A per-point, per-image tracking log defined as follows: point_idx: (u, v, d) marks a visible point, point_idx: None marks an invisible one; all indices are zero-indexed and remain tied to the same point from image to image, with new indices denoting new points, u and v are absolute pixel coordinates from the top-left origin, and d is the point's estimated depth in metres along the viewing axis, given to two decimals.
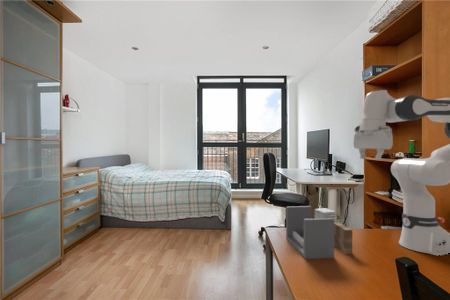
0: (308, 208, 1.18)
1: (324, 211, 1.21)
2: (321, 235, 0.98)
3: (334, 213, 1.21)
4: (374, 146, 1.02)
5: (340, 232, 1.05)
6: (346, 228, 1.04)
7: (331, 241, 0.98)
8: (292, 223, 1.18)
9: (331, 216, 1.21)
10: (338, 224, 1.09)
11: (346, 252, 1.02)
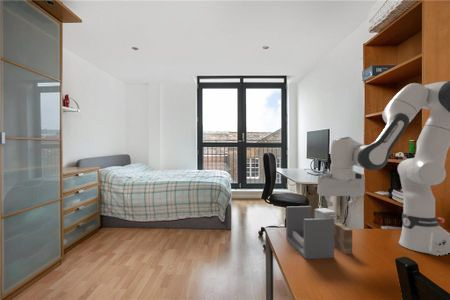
0: (308, 208, 1.18)
1: (324, 211, 1.21)
2: (321, 235, 0.98)
3: (334, 213, 1.21)
4: None
5: (340, 232, 1.05)
6: (346, 228, 1.04)
7: (331, 241, 0.98)
8: (292, 223, 1.18)
9: (331, 216, 1.21)
10: (338, 224, 1.09)
11: (346, 252, 1.02)
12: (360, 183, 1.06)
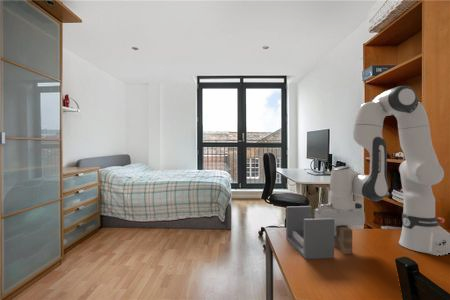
0: (308, 208, 1.18)
1: None
2: (321, 235, 0.98)
3: None
4: None
5: (340, 232, 1.05)
6: (346, 228, 1.04)
7: (331, 241, 0.98)
8: (292, 223, 1.18)
9: None
10: None
11: (346, 252, 1.02)
12: (360, 213, 1.07)
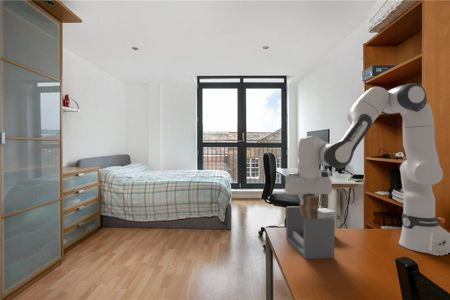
0: None
1: (324, 211, 1.21)
2: (321, 235, 0.98)
3: (334, 213, 1.21)
4: None
5: (307, 200, 1.06)
6: (312, 196, 1.04)
7: (331, 241, 0.98)
8: (292, 223, 1.18)
9: (331, 216, 1.21)
10: None
11: None
12: (327, 182, 1.07)
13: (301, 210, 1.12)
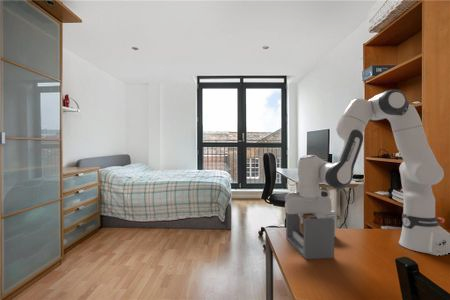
0: None
1: None
2: (321, 235, 0.98)
3: (334, 213, 1.21)
4: None
5: None
6: (312, 215, 1.05)
7: (331, 241, 0.98)
8: (292, 223, 1.18)
9: (331, 216, 1.21)
10: None
11: None
12: (326, 201, 1.07)
13: (300, 228, 1.13)
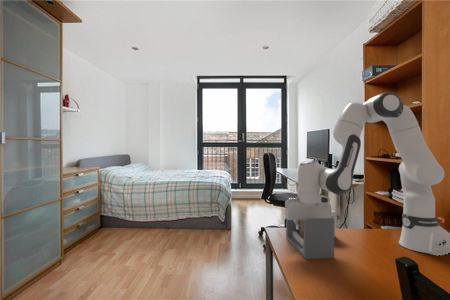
0: None
1: None
2: (321, 235, 0.98)
3: (334, 213, 1.21)
4: None
5: None
6: None
7: (331, 241, 0.98)
8: (292, 223, 1.18)
9: None
10: None
11: None
12: (326, 207, 1.07)
13: (301, 236, 1.13)
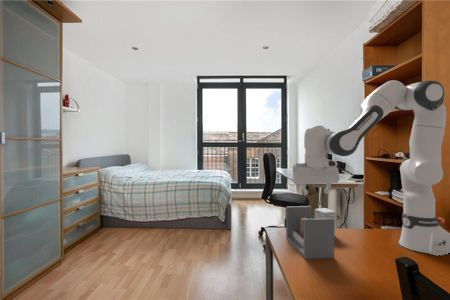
0: (308, 208, 1.18)
1: (324, 211, 1.21)
2: (321, 235, 0.98)
3: (334, 213, 1.21)
4: None
5: None
6: None
7: (331, 241, 0.98)
8: (292, 223, 1.18)
9: (331, 216, 1.21)
10: None
11: None
12: (334, 171, 1.08)
13: (301, 236, 1.13)
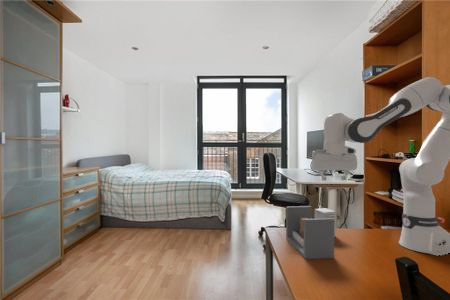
0: (308, 208, 1.18)
1: (324, 211, 1.21)
2: (321, 235, 0.98)
3: (334, 213, 1.21)
4: None
5: None
6: None
7: (331, 241, 0.98)
8: (292, 223, 1.18)
9: (331, 216, 1.21)
10: None
11: None
12: (352, 158, 1.10)
13: (301, 236, 1.13)
